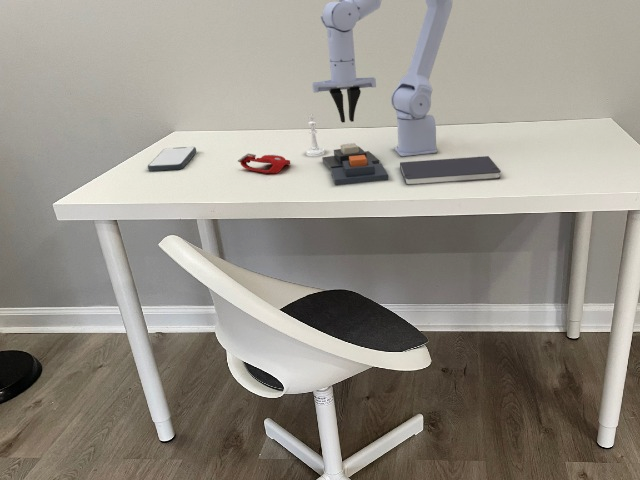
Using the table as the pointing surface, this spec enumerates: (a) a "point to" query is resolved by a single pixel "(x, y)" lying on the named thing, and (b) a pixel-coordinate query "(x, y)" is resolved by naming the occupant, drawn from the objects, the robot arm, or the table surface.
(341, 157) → the dark grey stepped base
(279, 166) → the red curved piece
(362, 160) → the orange key
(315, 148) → the chess piece
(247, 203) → the table surface
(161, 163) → the phone case
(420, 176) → the notebook
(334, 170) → the slotted grey holder
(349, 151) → the cream key
